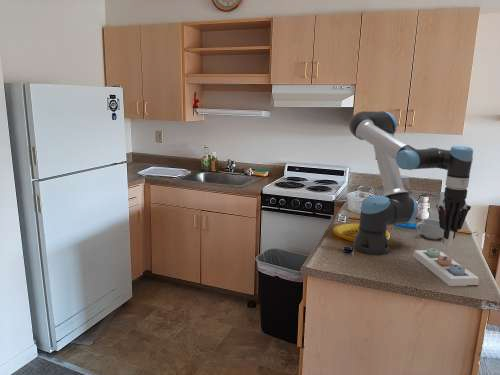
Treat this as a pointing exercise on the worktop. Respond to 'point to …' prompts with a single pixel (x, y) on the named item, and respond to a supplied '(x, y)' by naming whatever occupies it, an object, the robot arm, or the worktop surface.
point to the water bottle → (405, 182)
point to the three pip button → (444, 261)
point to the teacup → (430, 229)
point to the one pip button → (433, 253)
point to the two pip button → (457, 270)
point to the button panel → (445, 270)
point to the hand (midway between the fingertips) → (447, 246)
